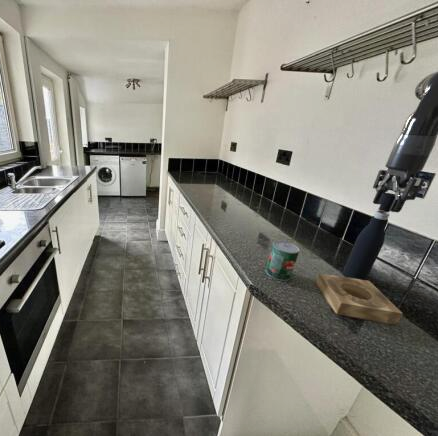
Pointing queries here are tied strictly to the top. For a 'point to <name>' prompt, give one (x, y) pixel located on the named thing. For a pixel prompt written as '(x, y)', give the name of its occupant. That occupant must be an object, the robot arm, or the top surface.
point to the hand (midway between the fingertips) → (385, 207)
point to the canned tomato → (282, 260)
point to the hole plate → (357, 299)
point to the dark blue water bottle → (369, 242)
